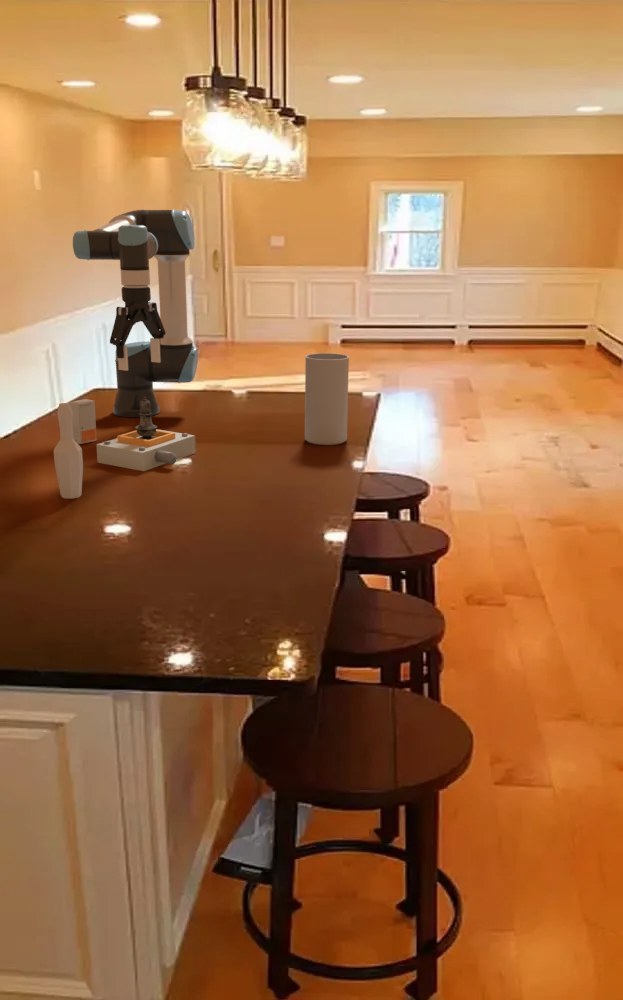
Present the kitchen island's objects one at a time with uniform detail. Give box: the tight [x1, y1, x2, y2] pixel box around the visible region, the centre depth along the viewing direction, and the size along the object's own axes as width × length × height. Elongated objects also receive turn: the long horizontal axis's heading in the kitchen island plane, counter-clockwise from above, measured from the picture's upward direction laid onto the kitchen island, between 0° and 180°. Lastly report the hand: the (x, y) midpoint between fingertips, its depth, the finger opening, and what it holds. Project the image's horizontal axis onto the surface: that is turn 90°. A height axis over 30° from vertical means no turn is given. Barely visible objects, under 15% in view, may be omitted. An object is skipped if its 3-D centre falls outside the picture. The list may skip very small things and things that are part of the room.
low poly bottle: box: [53, 402, 84, 499], centre depth 203 cm, size 6×6×22 cm
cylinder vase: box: [304, 352, 350, 446], centre depth 257 cm, size 12×12×25 cm
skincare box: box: [68, 398, 97, 445], centre depth 254 cm, size 6×4×12 cm
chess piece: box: [134, 396, 158, 440], centre depth 236 cm, size 6×6×12 cm
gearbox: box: [95, 428, 197, 472], centre depth 238 cm, size 22×21×6 cm
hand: (140, 366), depth 239 cm, fingers open, 13 cm apart
